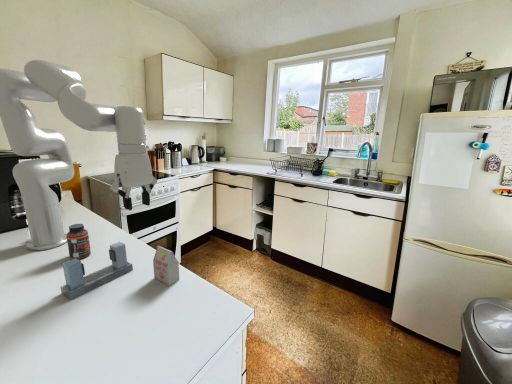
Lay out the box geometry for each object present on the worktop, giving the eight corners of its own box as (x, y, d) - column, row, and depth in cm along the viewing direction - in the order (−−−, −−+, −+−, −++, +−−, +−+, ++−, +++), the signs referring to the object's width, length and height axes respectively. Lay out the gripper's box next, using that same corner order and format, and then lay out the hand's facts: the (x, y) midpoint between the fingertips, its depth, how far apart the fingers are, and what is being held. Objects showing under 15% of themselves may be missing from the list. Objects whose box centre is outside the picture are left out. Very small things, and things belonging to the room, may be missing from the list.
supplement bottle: (80, 261, 79) (75, 230, 76) (65, 259, 80) (59, 228, 78) (95, 253, 85) (91, 223, 82) (81, 250, 86) (76, 221, 83)
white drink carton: (164, 272, 75) (162, 243, 73) (179, 279, 72) (177, 249, 69) (154, 278, 72) (152, 248, 70) (169, 286, 69) (167, 254, 66)
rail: (61, 293, 64) (56, 263, 62) (123, 265, 78) (121, 239, 76) (70, 300, 61) (64, 269, 59) (132, 270, 76) (130, 244, 73)
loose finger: (110, 266, 73) (107, 246, 72) (121, 261, 76) (119, 241, 74) (115, 269, 72) (113, 248, 70) (127, 264, 75) (125, 244, 73)
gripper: (149, 148, 81) (153, 199, 85) (95, 150, 67) (103, 211, 71) (164, 149, 77) (167, 203, 82) (109, 152, 63) (117, 216, 67)
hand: (137, 206), depth 76 cm, fingers open, 5 cm apart
